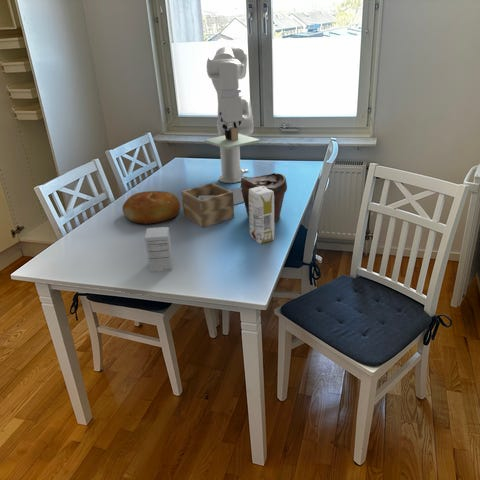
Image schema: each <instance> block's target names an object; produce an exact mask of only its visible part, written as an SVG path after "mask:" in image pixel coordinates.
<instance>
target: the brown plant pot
mask: <svg viewBox="0 0 480 480" xmlns="http://www.w3.org/2000/svg"><path fill="white" fill-rule="evenodd" d="M260 186H265V187H266V188H267V189H269V190H272V191H274V223H275V222H277V221H278V220H279V219H280V217H281V212H282V207H283V203H284V197H285V193H286V192H287V190H288V183H287V178H286V177H285V175H284V174H281V173H270V174H265V175H261V176H260V175H259V176H254V177H251V176H250V177H249V176H247V177H244V178H242V179H241V182H240V187H239V188H241V189H242V190H241V192H242V195H243V199H244V207H245V211H246V215H247V219H248V220H249V189H251V188H255V187H260Z"/></svg>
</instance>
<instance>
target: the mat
mask: <svg viewBox="0 0 480 480" xmlns="http://www.w3.org/2000/svg"><path fill="white" fill-rule="evenodd" d="M229 190H230V191H232V192H233V202H234V206H237V205H239V204H243V203H244V199H243V195H242V192H241V190H242V188H240V187H235V188H233V189H229ZM244 204H245V203H244Z"/></svg>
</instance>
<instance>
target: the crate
mask: <svg viewBox="0 0 480 480" xmlns="http://www.w3.org/2000/svg"><path fill="white" fill-rule="evenodd" d="M230 190H231V189H227V188H225V187H223V186H221V185H218V184H216V183H214V182H210V183H207V184H203V185H200V186H195V187H192V188H188V189H184V190H181V191H180V192H181V200H182V209H183V216H184V218H186V219H188V220H190V221H191V222H193V223H194V224H196V225H198V226H199V227H201V228H204V229H205V228H207V227H210V226H212V225H216V224H218V223H222V222H225V221H227V220H230V219H233V218H235V205H234V202H233V192H232V191H230ZM199 196H214V197H211V198H207V199H204V200H201V199H199V198H198V197H199Z"/></svg>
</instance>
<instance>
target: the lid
mask: <svg viewBox="0 0 480 480" xmlns="http://www.w3.org/2000/svg"><path fill="white" fill-rule="evenodd" d="M229 130H230V131H231V140H228V139H226V137H225V135H224V136H219V135H218V136H215V137H211V138H207V139H206V138H205V139H204V142H205V143H207V144H210V145H212V146H215V147H219V148H220V147H221V148H224V149H232V148H236V147H244V146H248V145H252V144H257V143H260V142H261V138H260V139H259V138H256V137H252V136H249V135H242V134H239V133H238V128H235V127H231V126H230V128H229Z"/></svg>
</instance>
